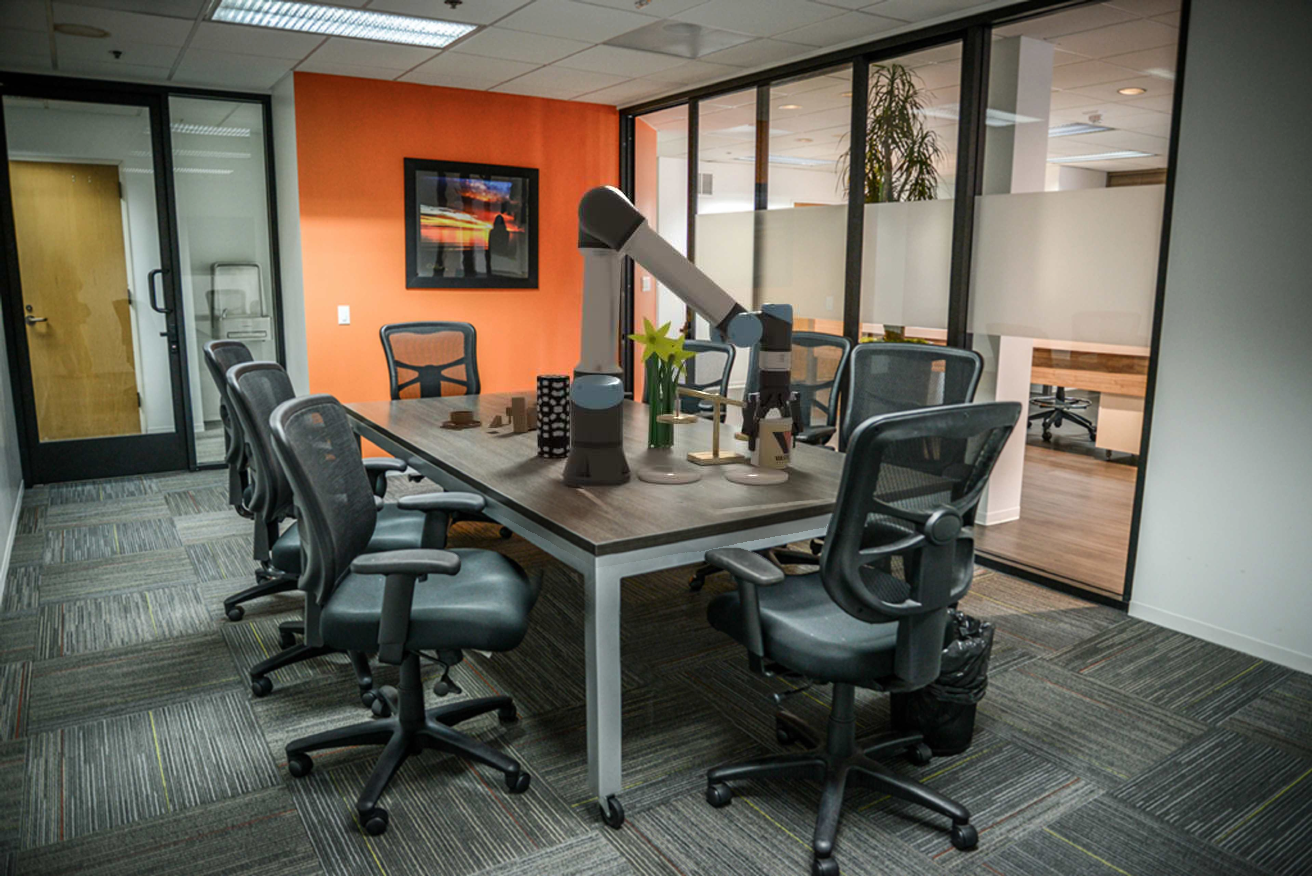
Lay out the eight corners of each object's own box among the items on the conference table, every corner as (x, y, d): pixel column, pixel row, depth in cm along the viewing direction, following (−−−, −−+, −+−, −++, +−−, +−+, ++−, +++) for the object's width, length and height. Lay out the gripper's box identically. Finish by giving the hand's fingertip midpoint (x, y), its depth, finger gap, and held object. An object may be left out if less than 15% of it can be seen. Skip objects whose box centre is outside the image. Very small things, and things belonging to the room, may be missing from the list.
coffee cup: (778, 471, 208) (780, 421, 206) (744, 466, 214) (746, 417, 212) (797, 466, 216) (799, 416, 214) (764, 461, 221) (765, 413, 219)
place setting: (457, 422, 283) (457, 404, 282) (516, 425, 278) (516, 407, 277) (431, 431, 266) (430, 411, 265) (493, 434, 262) (492, 414, 261)
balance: (666, 468, 211) (667, 389, 208) (649, 461, 220) (650, 385, 217) (780, 459, 224) (782, 385, 221) (760, 453, 233) (762, 381, 230)
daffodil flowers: (665, 441, 250) (666, 315, 244) (703, 448, 240) (705, 316, 234) (619, 447, 239) (620, 315, 233) (657, 455, 228) (659, 317, 222)
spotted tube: (531, 455, 226) (530, 377, 222) (547, 450, 233) (546, 374, 230) (560, 458, 223) (560, 378, 219) (575, 453, 230) (575, 375, 227)
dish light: (653, 485, 193) (653, 481, 193) (629, 473, 205) (629, 469, 205) (711, 480, 198) (711, 476, 198) (684, 469, 211) (684, 464, 211)
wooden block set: (540, 426, 274) (537, 393, 273) (556, 428, 267) (553, 394, 266) (488, 433, 262) (485, 398, 261) (504, 435, 256) (501, 399, 254)
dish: (744, 486, 193) (744, 482, 193) (714, 474, 205) (714, 470, 205) (799, 481, 198) (800, 477, 198) (767, 470, 211) (767, 465, 211)
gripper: (743, 371, 203) (740, 469, 207) (821, 369, 212) (817, 463, 216) (727, 368, 210) (724, 463, 214) (804, 367, 219) (800, 457, 222)
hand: (771, 463), depth 215 cm, fingers closed on coffee cup, 8 cm apart
